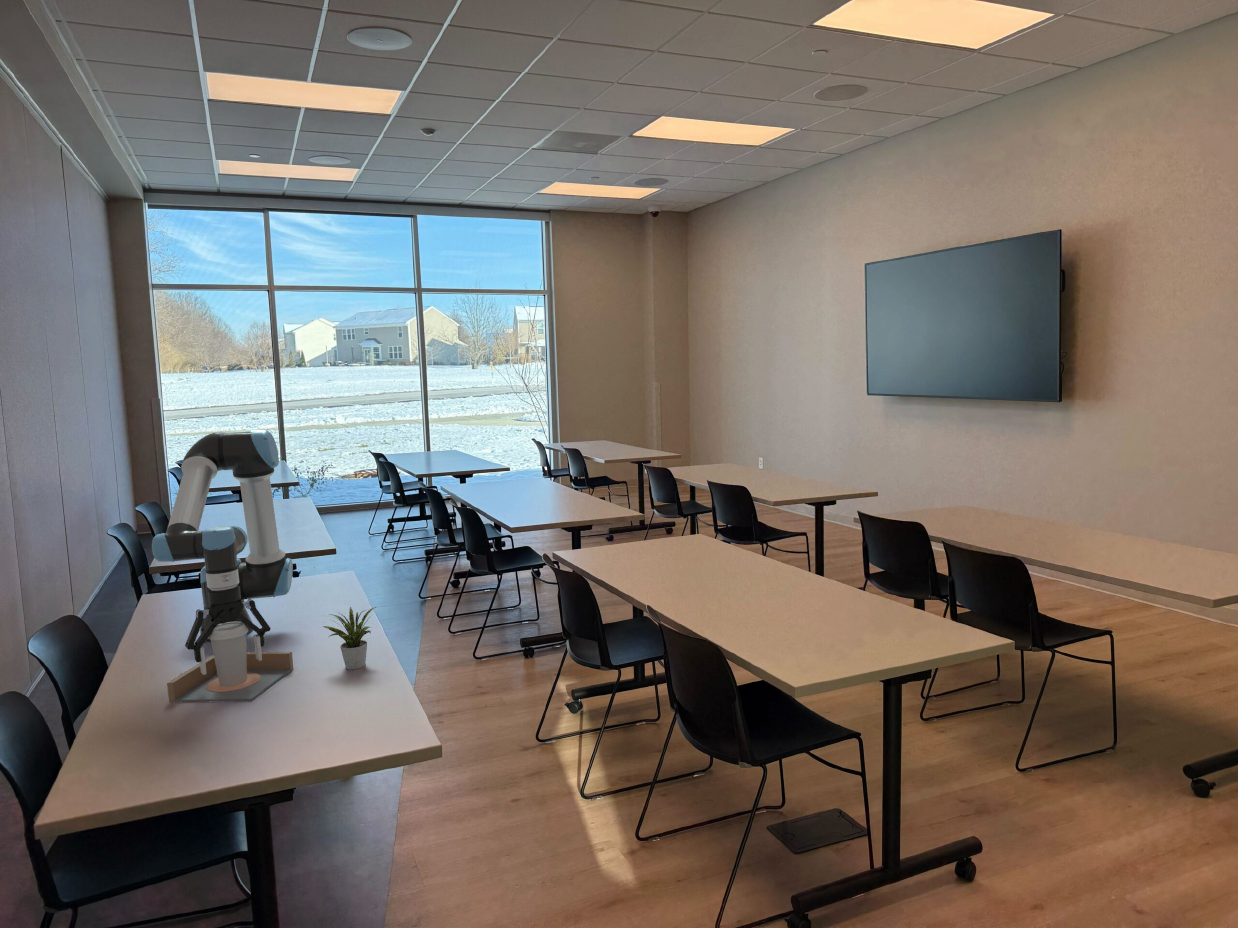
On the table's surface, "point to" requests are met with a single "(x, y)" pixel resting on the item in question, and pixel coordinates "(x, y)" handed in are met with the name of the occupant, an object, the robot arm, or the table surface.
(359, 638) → the house plant
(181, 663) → the table surface
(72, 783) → the table surface
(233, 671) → the coffee cup
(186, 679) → the tray
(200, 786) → the table surface
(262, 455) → the robot arm
